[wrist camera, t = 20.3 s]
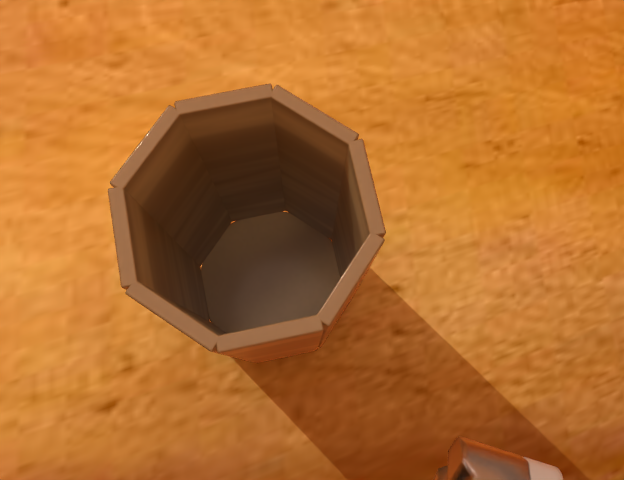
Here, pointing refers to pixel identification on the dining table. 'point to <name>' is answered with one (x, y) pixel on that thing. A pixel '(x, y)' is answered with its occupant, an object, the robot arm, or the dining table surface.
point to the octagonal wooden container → (246, 221)
